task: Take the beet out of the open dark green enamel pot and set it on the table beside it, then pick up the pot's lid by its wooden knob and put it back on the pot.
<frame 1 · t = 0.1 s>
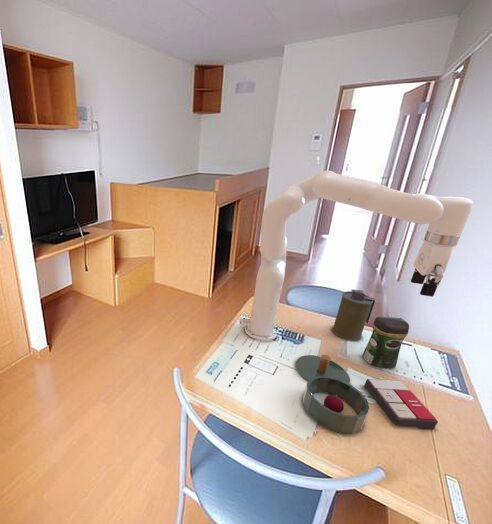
hand: (421, 289, 99), 31 cm above the table, tool pointing down, fingers open, 9 cm apart
beet: (331, 410, 91), resting on pot
lid: (321, 372, 106), point 1 cm above the table
calculator: (395, 407, 93), on the table
canister: (346, 333, 129), on the table
coffee jar: (377, 362, 112), on the table
pot: (331, 411, 91), on the table
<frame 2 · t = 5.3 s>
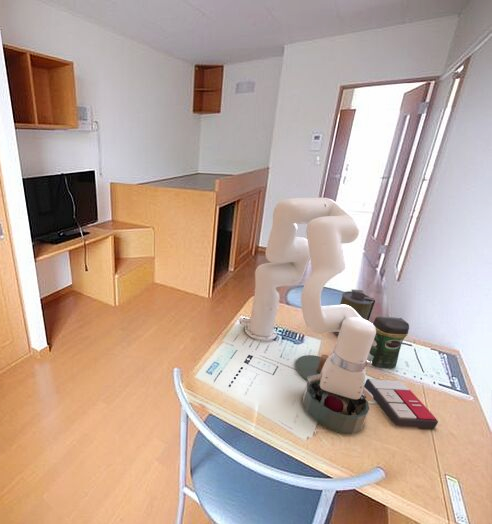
hand: (332, 407, 91), 2 cm above the table, tool pointing down, fingers open, 7 cm apart
nothing on the table moved.
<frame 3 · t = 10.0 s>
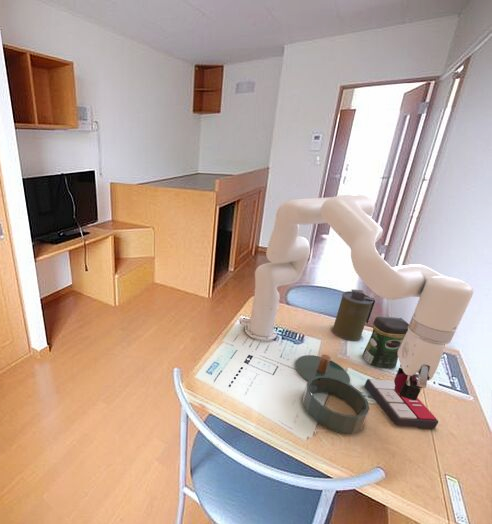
hand: (404, 389, 77), 18 cm above the table, tool pointing down, fingers closed on beet, 5 cm apart
beet: (403, 391, 77), point 17 cm above the table, touching gripper
everything else where it was.
when the fingers open (1 cm above the table, at t = 14.4 s): beet stays where it is, on the table.
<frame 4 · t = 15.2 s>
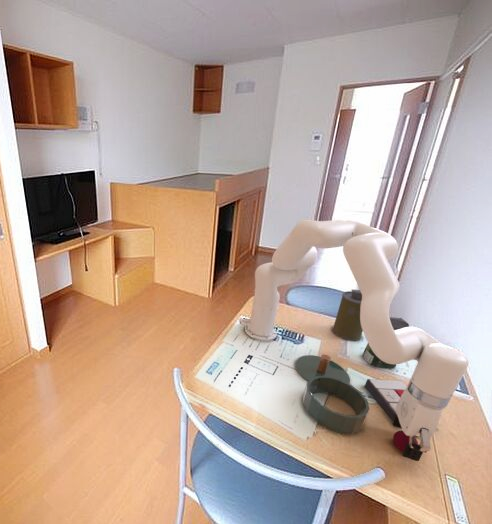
hand: (404, 441, 80), 2 cm above the table, tool pointing down, fingers open, 9 cm apart
beet: (402, 448, 81), on the table
everything else where it was.
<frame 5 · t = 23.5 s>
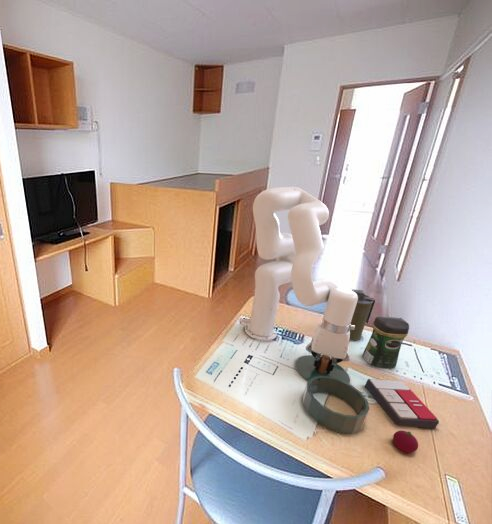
hand: (322, 369, 106), 2 cm above the table, tool pointing down, fingers closed on lid, 2 cm apart
lid: (321, 372, 106), point 1 cm above the table, touching gripper
everything else where it was.
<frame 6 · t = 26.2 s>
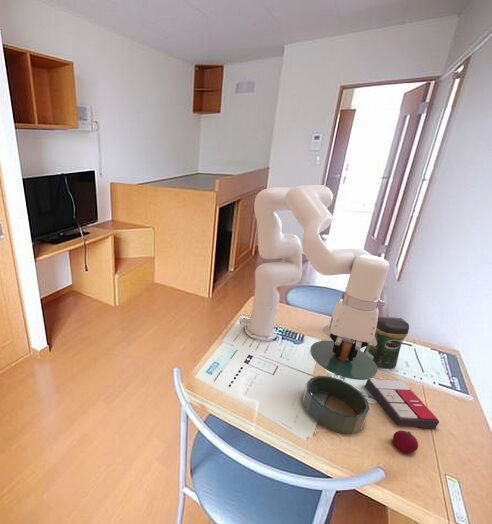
hand: (343, 355, 89), 17 cm above the table, tool pointing down, fingers closed on lid, 2 cm apart
lid: (342, 359, 89), point 16 cm above the table, touching gripper
everything else where it was.
when the fingers open (8 cm above the table, at t = 28.9 s): lid stays where it is, resting on pot.
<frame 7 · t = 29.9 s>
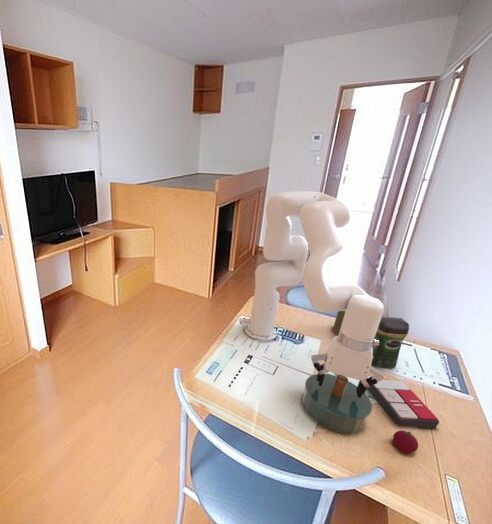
hand: (338, 388, 88), 9 cm above the table, tool pointing down, fingers open, 9 cm apart
lid: (336, 395, 89), point 6 cm above the table, touching pot
everything else where it was.
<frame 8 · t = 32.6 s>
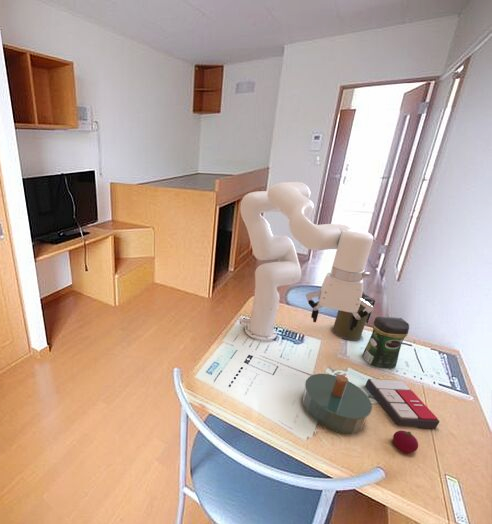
hand: (331, 324, 93), 23 cm above the table, tool pointing down, fingers open, 9 cm apart
nothing on the table moved.
at the end: beet inside the target area (0.5 cm from its centre), on the table; lid 0.0 cm off-centre on the pot, point 6.5 cm above the pot's base; lid tilted 0° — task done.
